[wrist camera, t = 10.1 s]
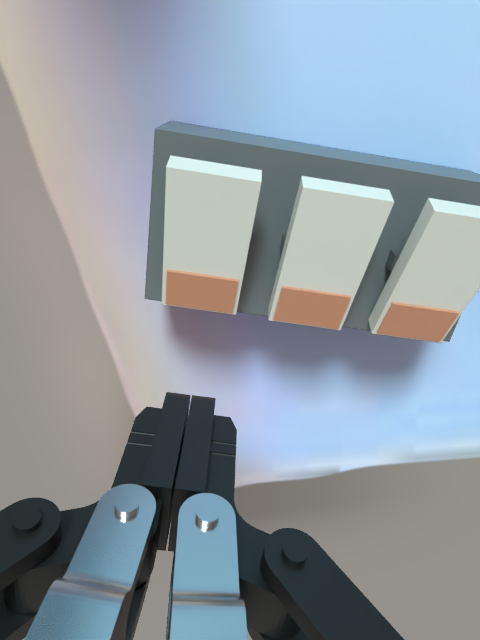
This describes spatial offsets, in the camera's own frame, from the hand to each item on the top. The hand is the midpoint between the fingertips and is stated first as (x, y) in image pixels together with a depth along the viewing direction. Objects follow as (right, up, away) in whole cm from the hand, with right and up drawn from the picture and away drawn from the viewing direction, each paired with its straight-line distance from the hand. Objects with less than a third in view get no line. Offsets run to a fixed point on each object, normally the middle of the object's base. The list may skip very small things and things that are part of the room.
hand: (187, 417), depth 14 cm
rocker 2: (+5, +6, +7) cm, 10 cm away
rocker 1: (0, +7, +6) cm, 9 cm away
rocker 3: (+10, +5, +7) cm, 14 cm away
